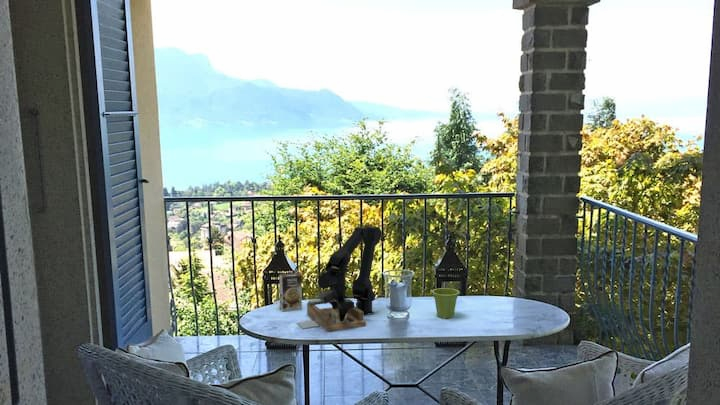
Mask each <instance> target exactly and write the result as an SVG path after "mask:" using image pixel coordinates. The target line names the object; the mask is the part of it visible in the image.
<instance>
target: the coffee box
mask: <svg viewBox="0 0 720 405" xmlns="http://www.w3.org/2000/svg"><path fill="white" fill-rule="evenodd" d="M302 282H303V281H302V275H301V274H300V273H299V272H293V273H279V309H280V310H281V312H292V311H300V310H303V309H302V308H303V304H302V303H303V302H302V300H303V299H302V297H303V296H302V292H303V290H302V284H303V283H302Z"/></svg>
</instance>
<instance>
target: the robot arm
mask: <svg viewBox="0 0 720 405" xmlns="http://www.w3.org/2000/svg"><path fill="white" fill-rule="evenodd" d="M382 232H383V231H382V230H381V228H380V227H379V226H374V225H373V226H371V225H366V226H364V227H362V226H357V227H356V226H355V228H354V230H353V232H352V233H351V235H350V236H349V237H348V239H347V240H346V241H345V243H344V244H343V245H342V246H341V247H340V249H337V250H335V251H334V252H333V253H332V254H331V255H330V257H329V259H328V262H327V263H326V265H325V268H324V271H322V272H321V275H320V276H319V275H318V276H319V277H318V279H317V284H318V286H319V287H320V289H323V290H325V291H322V292H321V293H319V294H318V296H319V299H320V300H321V302H323V303H324V305H326V304H329V305H331V307H332V308H333V309H338V310H339V316H340V321H343V320H344V318H345V316H346V314H347V312H348V310H349V308H354V306H355V307H357V308H358V309H360V310H361V311H363V312H364V316H365V315H372V314H374V313H375V312H374V311H373V302H374V301H375V300H376V298H377V297H376V293H375V292H374V291H373V290H372V288H373V283H372V281H371V272H372V266H373V261H374V257H375V256H374V254H375V251H376V250H375V249H376V246H377V245H378V244H379V243H380V241H381V238H382ZM361 242H363V250H362V256H361V260H360V261H361V262H360V268H359V272H358V277H357V278H356V279H353V281H352V286H351V292H352V293H351V294H352V295H353V299H354V300H355V299H356V302H354V301H353V300H351V299H350V298H348V295H347V292H346V291H347V290H348V286H347V284H346V282H347V281H346V280H347V279H346V276H347V275H346V273H349V269H348V268H347V267H348V265H349V264H350V262H351V256H352V254H353V252H354V251H355V250H356V248H358V246H359V244H360V243H361ZM328 288H329V289H328ZM326 289H328V290H326ZM344 299H346V300H344ZM328 302H329V303H328Z"/></svg>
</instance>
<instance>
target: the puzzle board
mask: <svg viewBox="0 0 720 405" xmlns="http://www.w3.org/2000/svg"><path fill="white" fill-rule="evenodd" d="M332 309H333V308H332V306H330V307H322V308H319V307H318V306H317V305H310V304H308V302H307V303H306V314H307V315H306V316H308V317H309V318H310V319H311V320H312V321H314V322H316V323H317V324H318V325H319V326H320V327H322V329H324V330H325V331H327V332H328V333H330V332H337V331H342V330H349V329H355V328H361V327H366V326H367V321H366V320H365V318H364V316H365V315H364V312H363V311H361V310H360V309H358V308H357V307H356V305H354V308H349V310H348V312H347V323H341V324H335V323H334V322H332V321H331V310H332Z"/></svg>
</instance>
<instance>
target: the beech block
mask: <svg viewBox="0 0 720 405" xmlns="http://www.w3.org/2000/svg"><path fill="white" fill-rule="evenodd" d="M331 321H332V322H333V323H334V324H341V323H348V321H347V314H346V316H345V318H344V320H343V321H340V316H339V310H338V309H332V310H331Z"/></svg>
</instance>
